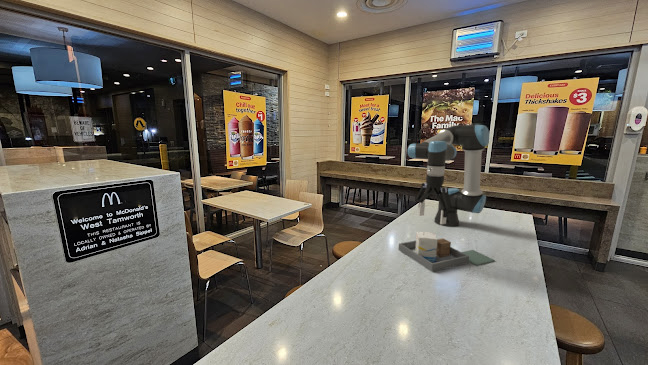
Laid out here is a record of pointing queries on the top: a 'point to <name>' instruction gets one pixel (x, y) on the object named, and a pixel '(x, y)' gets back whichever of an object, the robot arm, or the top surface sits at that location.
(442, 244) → the walnut block
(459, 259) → the bin
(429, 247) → the ink box
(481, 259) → the pad
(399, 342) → the top surface
